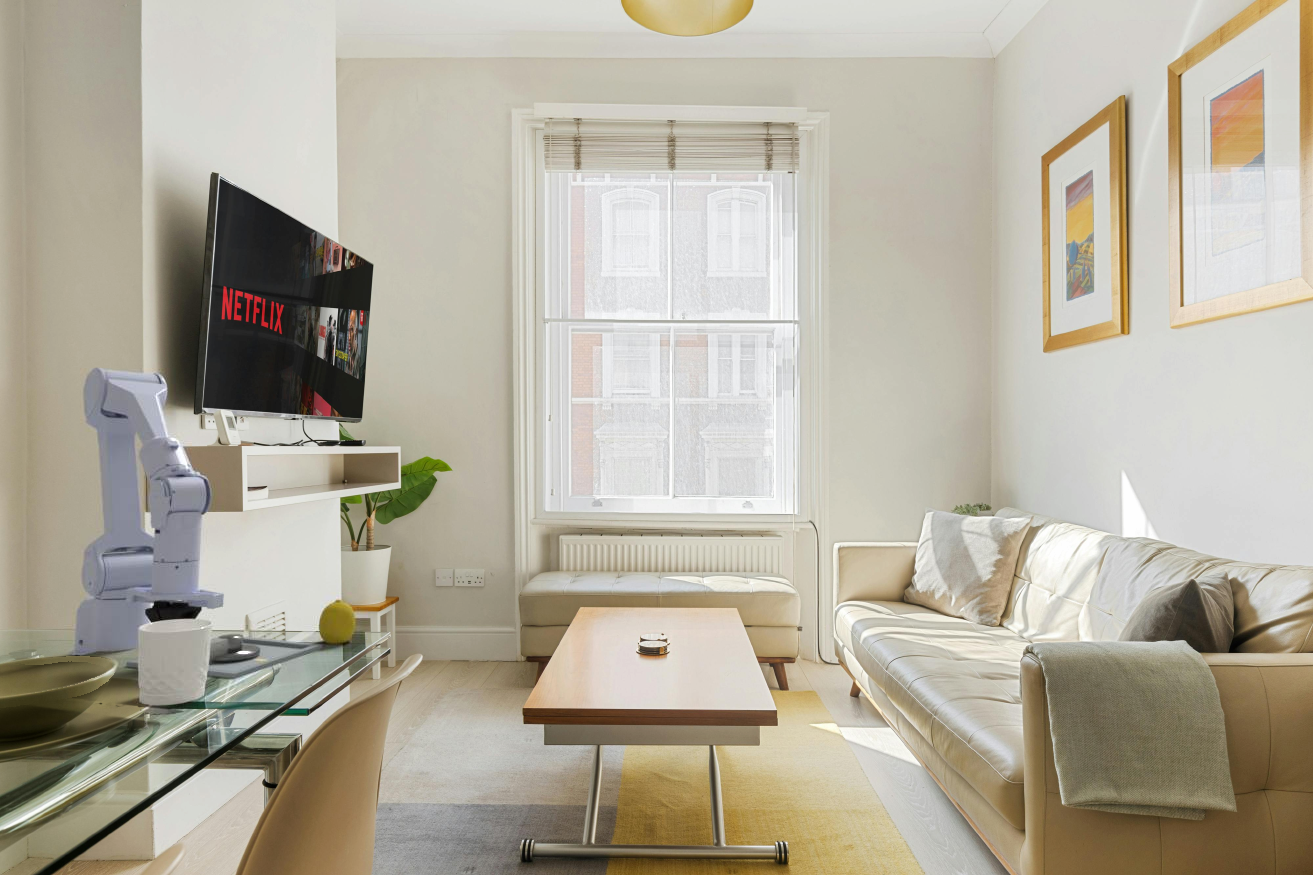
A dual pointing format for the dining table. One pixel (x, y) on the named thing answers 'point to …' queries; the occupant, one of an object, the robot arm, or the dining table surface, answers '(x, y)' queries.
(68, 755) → the dining table surface
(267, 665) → the dial plate
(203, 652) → the white cup
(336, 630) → the lemon
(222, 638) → the dial
